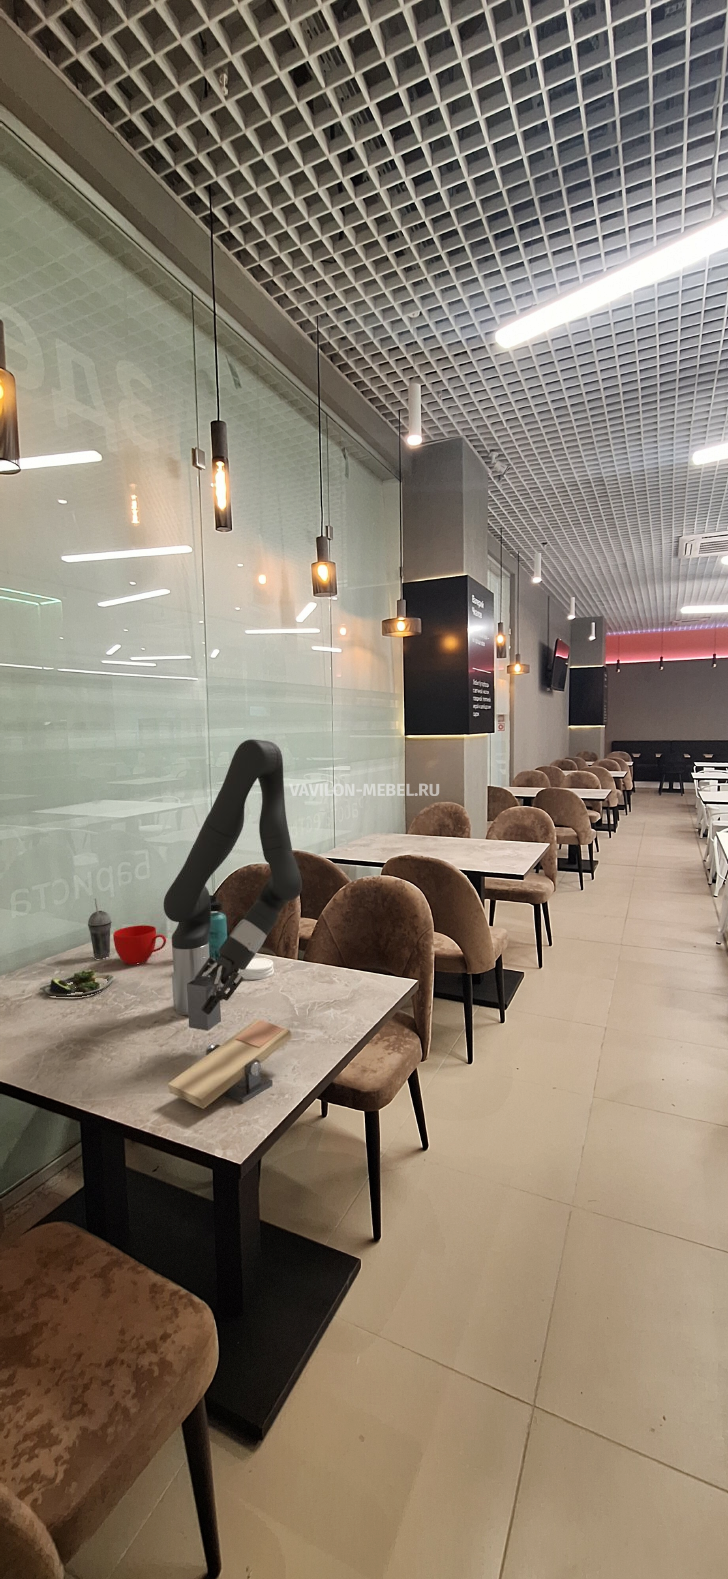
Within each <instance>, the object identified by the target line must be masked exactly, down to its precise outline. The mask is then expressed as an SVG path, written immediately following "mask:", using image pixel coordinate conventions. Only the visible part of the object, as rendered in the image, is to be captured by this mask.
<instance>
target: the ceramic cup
mask: <svg viewBox="0 0 728 1579" xmlns="http://www.w3.org/2000/svg"><path fill="white" fill-rule="evenodd" d="M158 938H161V939H162V941H163V942H162V944H161V946H159V947H157V948H155V946H156V942H157V939H158ZM112 939H113V943H114V949H115V951H116V953H117V955H118V957H119V958H120V959H121V961H123V962H124V963H125V964H126V963H127V964H126V965H128V964H137V963H142V962H145V961H146V962H147V961H148V960H149V959H150V957H151V956H152V955H153V953H156V952H158V951H160V950H162V949H164V947H165V946H166V943H167V938H166V936H165V935H164V934H157V928H156V926H153V925H145V924H144V925H143V924H141V925H132V926H126V927H122V928H120V929H118V930H115V931H114V932H113V937H112ZM146 962H145V963H146ZM142 964H143V963H142Z"/></svg>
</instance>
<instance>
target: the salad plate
mask: <svg viewBox="0 0 728 1579" xmlns="http://www.w3.org/2000/svg"><path fill="white" fill-rule="evenodd" d="M100 971H101V970H100V969H94V970H91V969H88V970H87V971H86V970H82V971H78V972H74V974H72V975H67V976H66V977H64V978H62V979H58V978H52V979H51V980H50V984H47V985H43V986H42V987H39V991H43V993H44V994H46V996H47V995H49V996H56V997H82V996H87V995H91V994H95V993H97V992H99V991H101V992H103V991H104V990H105V989H106V988H108V987H109V986H110V985H111V984H112V983H113V982H114V981H115V976H114V975H113V974H98V973H99V972H100ZM96 978H103V979H107V981H108V982H107V984H106V985H105V986H104V985H103V986H104V987H103V986H102V984H101V982H95V979H96ZM70 982H73V984H71V985H68V984H67V983H70ZM108 985H109V986H108ZM107 986H108V987H107ZM75 987H76V988H75ZM105 987H106V988H105ZM104 988H105V989H104ZM103 989H104V990H103ZM102 990H103V991H102ZM75 992H83V993H82V994H75V995H67V994H71V993H75Z"/></svg>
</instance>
